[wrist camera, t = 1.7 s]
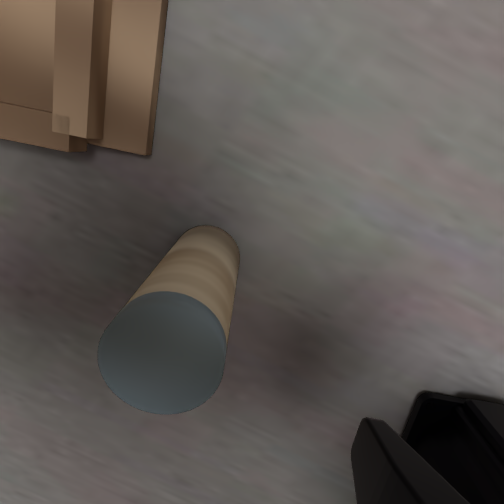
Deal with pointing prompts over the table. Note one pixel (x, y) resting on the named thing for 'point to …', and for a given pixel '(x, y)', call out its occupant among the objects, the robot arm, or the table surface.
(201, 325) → the peg
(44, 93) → the cradle
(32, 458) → the table surface
